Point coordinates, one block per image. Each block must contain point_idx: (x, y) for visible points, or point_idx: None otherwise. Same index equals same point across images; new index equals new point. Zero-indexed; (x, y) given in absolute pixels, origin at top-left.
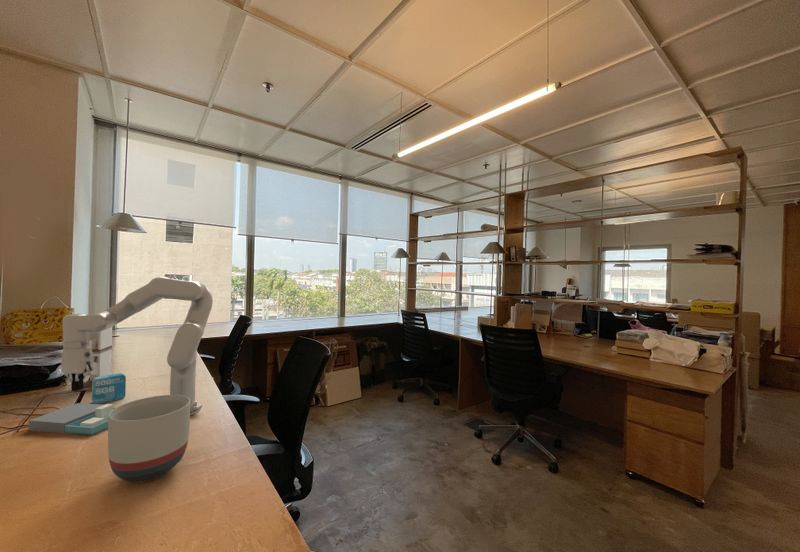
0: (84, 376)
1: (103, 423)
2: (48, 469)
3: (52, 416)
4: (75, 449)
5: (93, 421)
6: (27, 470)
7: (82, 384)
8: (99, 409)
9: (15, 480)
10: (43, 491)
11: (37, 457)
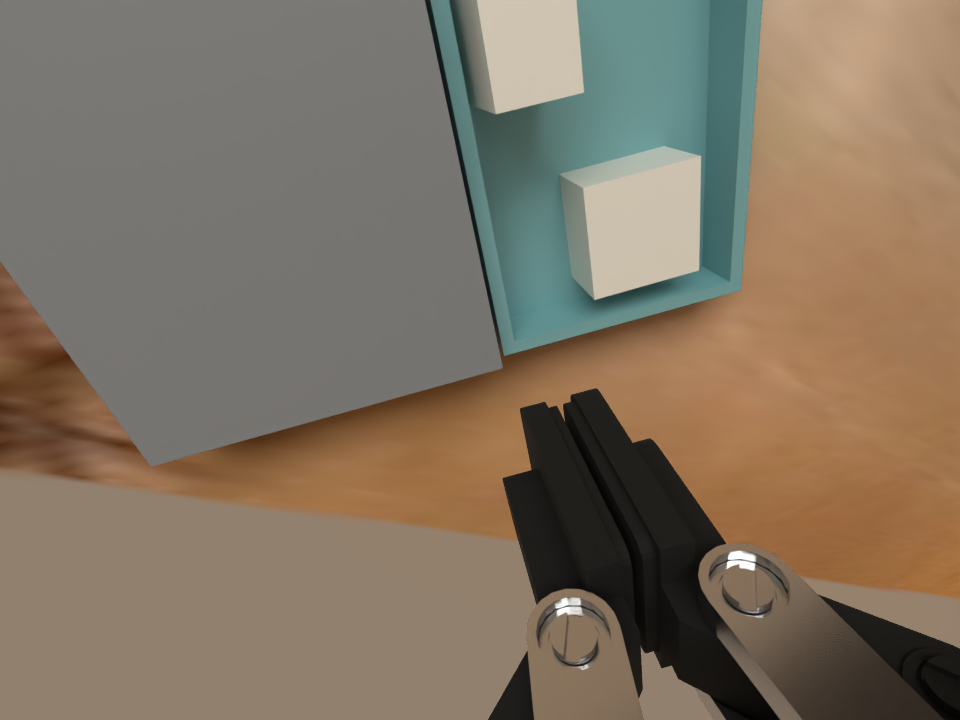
0: (893, 646)
1: (744, 202)
2: (806, 493)
3: (213, 351)
4: (764, 387)
5: (671, 240)
6: (734, 527)
7: (677, 477)
8: (551, 99)
9: None
10: (906, 532)
11: None
